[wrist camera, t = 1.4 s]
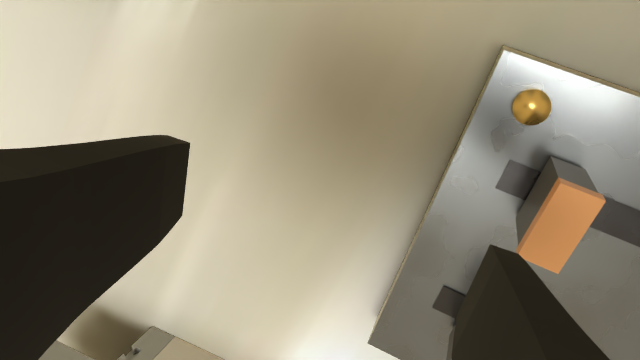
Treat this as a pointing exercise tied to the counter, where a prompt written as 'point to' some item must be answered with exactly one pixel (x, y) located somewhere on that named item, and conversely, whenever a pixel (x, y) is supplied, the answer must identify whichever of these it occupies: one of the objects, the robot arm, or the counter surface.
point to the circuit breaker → (140, 349)
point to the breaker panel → (509, 196)
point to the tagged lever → (556, 214)
